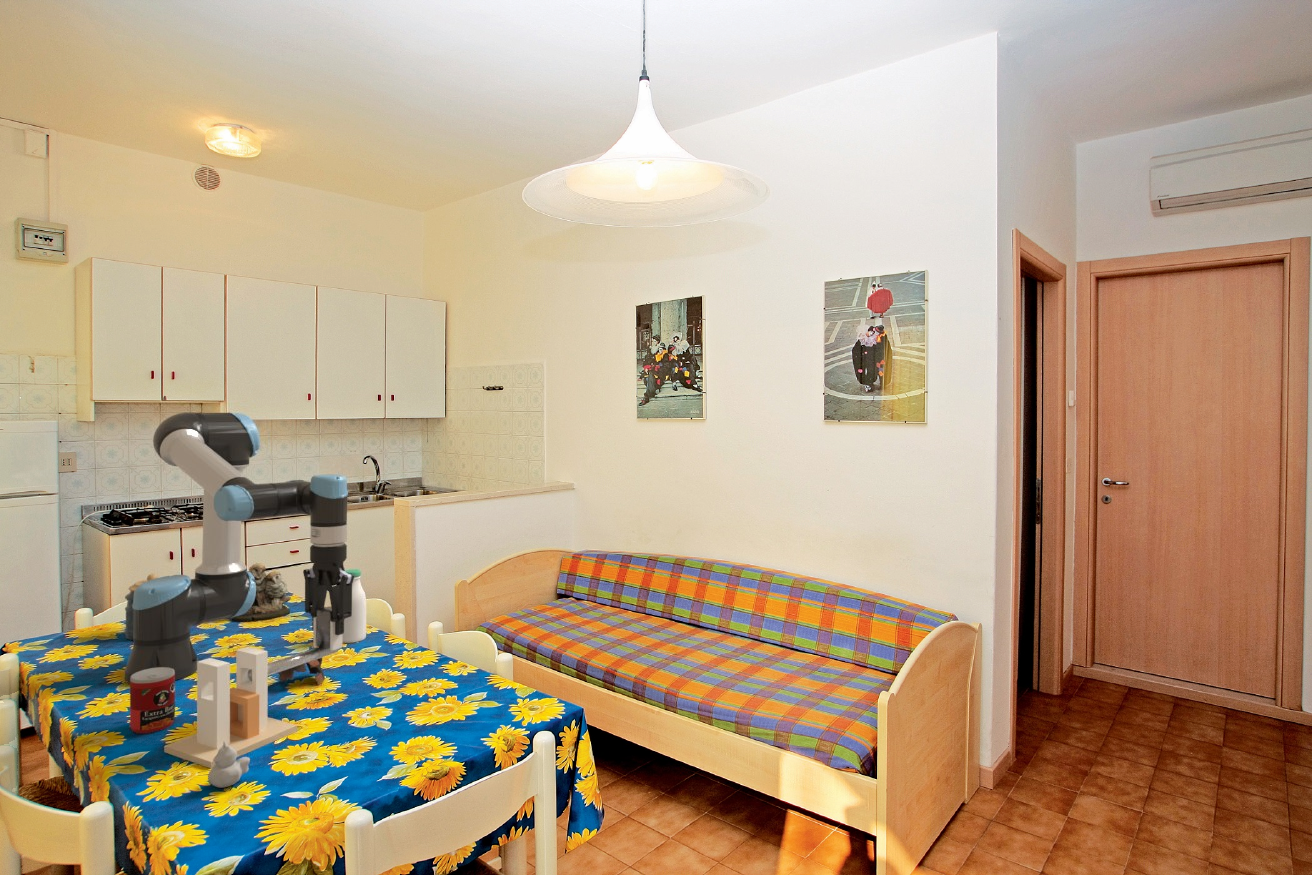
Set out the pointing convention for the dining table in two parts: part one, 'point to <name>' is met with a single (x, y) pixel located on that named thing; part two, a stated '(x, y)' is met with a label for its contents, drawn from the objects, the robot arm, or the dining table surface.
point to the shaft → (321, 651)
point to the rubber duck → (227, 767)
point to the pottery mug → (312, 666)
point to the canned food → (152, 699)
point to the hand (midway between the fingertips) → (327, 646)
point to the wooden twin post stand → (228, 709)
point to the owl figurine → (266, 596)
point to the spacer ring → (244, 713)
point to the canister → (130, 609)
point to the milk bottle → (356, 612)
